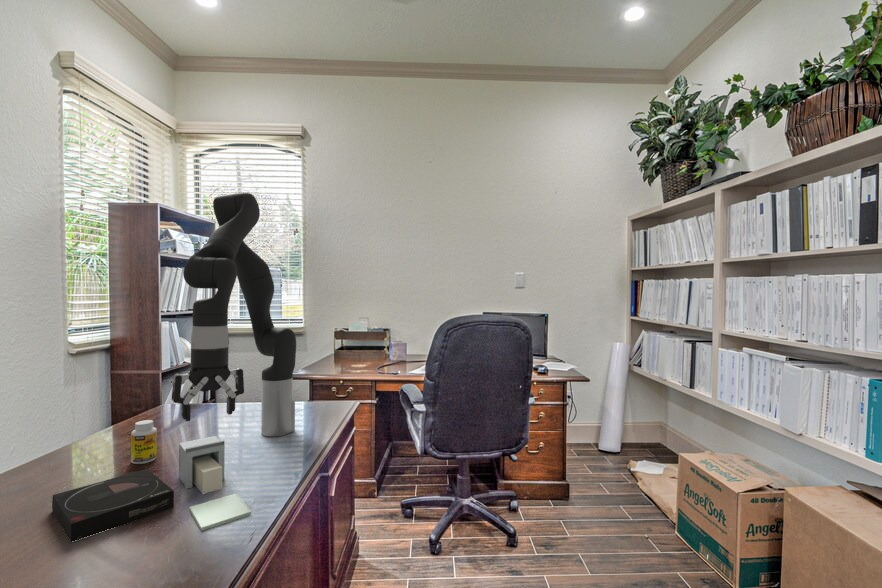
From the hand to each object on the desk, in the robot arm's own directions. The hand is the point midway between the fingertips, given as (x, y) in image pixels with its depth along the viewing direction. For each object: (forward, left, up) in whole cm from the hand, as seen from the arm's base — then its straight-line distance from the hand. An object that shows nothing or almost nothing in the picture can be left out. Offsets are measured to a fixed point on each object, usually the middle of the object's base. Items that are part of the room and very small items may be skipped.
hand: (208, 417), depth 97 cm
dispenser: (0, -8, -17) cm, 18 cm away
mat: (+1, +12, -17) cm, 21 cm away
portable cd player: (+17, -3, -17) cm, 24 cm away
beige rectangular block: (0, -4, -17) cm, 17 cm away
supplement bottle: (+9, -29, -17) cm, 35 cm away
